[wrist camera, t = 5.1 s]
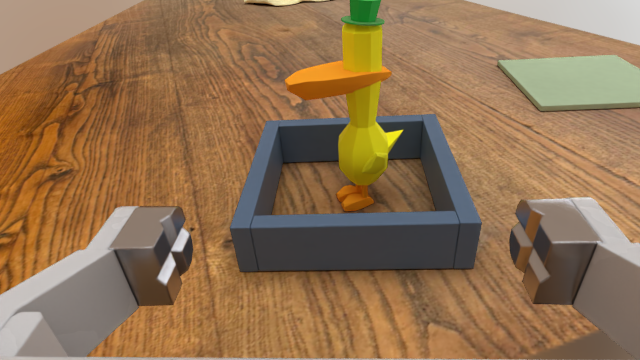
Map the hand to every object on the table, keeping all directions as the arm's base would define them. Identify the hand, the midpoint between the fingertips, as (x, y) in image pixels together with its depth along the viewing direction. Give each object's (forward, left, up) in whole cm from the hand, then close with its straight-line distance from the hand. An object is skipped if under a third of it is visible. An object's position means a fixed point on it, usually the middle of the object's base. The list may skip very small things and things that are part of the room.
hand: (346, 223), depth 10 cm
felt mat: (-22, -32, -9) cm, 40 cm away
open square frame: (0, -14, -9) cm, 16 cm away
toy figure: (0, -14, -10) cm, 17 cm away
